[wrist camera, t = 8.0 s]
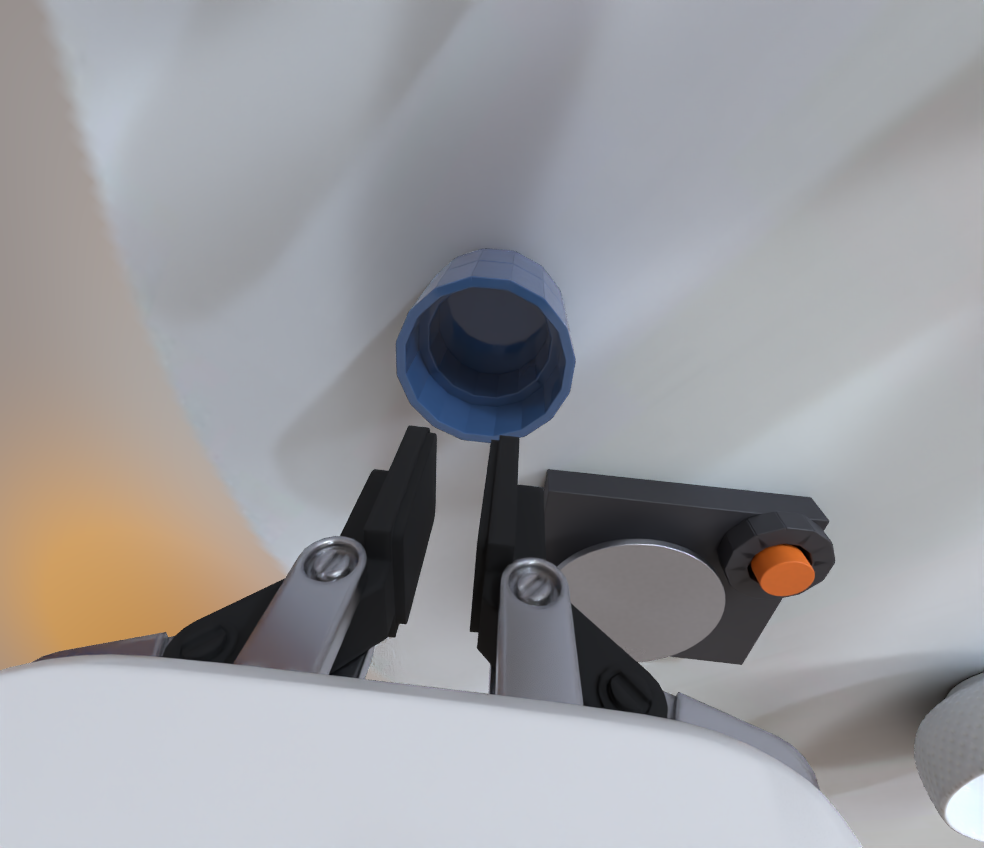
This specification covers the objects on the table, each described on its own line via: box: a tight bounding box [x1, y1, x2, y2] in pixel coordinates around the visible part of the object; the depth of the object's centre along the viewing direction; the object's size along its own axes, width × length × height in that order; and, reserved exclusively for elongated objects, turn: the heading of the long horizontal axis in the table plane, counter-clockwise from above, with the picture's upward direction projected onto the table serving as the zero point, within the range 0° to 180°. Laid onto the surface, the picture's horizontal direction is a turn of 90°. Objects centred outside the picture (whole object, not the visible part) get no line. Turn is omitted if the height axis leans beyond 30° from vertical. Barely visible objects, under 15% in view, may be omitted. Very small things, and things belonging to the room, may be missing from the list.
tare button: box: [751, 544, 815, 596], centre depth 26 cm, size 3×3×1 cm
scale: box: [544, 469, 835, 665], centre depth 30 cm, size 16×14×4 cm
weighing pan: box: [557, 538, 725, 662], centre depth 29 cm, size 11×11×1 cm
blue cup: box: [396, 248, 576, 443], centre depth 21 cm, size 7×7×6 cm
